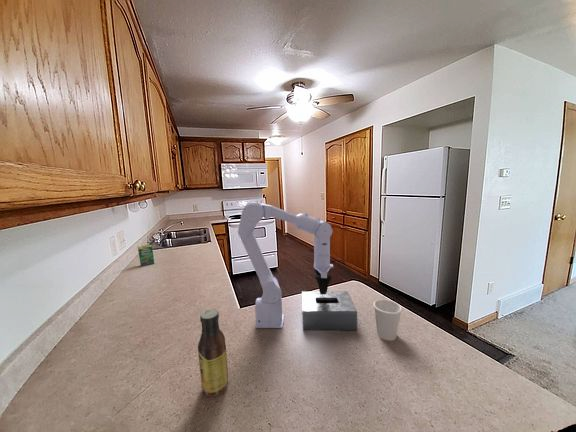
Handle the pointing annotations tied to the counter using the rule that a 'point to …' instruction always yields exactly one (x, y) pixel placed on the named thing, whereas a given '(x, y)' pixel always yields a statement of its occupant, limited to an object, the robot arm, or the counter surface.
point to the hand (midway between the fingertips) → (322, 288)
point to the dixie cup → (387, 318)
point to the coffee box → (146, 255)
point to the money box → (328, 311)
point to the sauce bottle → (212, 355)
